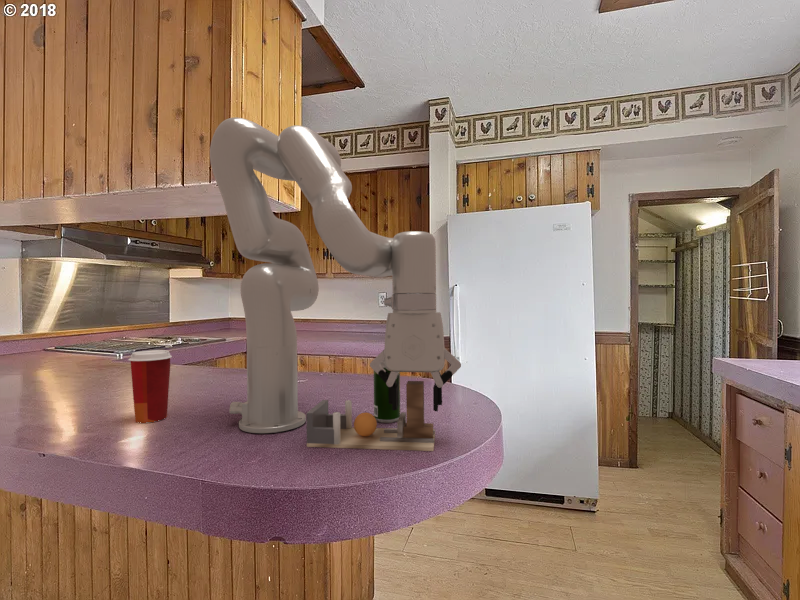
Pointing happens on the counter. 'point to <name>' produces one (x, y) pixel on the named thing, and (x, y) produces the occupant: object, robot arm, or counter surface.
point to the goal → (327, 423)
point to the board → (380, 441)
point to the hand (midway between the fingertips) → (415, 407)
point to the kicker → (414, 414)
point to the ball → (365, 424)
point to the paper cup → (150, 384)
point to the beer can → (384, 400)
